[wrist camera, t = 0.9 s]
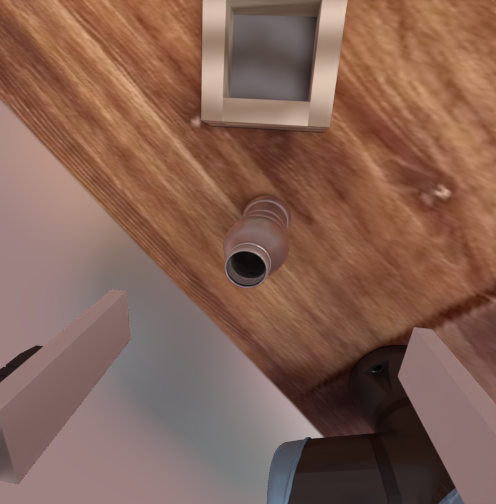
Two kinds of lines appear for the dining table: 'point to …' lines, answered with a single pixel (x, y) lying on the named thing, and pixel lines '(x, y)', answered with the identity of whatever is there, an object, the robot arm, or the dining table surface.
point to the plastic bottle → (257, 242)
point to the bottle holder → (270, 63)
